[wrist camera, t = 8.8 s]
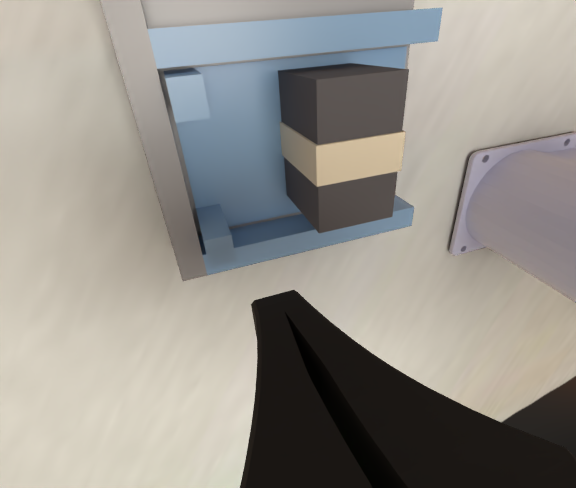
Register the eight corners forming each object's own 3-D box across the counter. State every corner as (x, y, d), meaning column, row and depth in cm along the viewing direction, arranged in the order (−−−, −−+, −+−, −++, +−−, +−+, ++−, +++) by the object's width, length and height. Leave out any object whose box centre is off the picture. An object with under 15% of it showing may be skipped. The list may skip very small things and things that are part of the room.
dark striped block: (353, 62, 16) (412, 69, 12) (349, 182, 19) (395, 217, 15) (275, 70, 15) (314, 80, 11) (285, 195, 18) (317, 235, 15)
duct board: (428, -309, 12) (552, -468, 8) (383, 205, 22) (428, 237, 18) (-2, -388, 9) (-118, -699, 5) (179, 250, 19) (184, 300, 15)
